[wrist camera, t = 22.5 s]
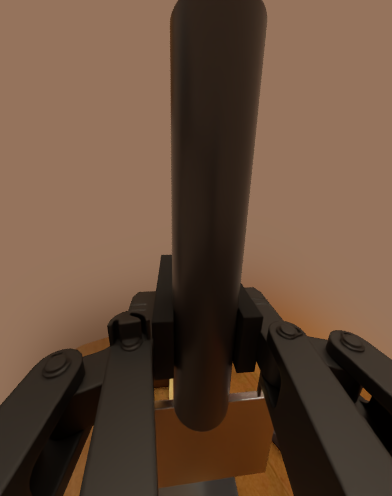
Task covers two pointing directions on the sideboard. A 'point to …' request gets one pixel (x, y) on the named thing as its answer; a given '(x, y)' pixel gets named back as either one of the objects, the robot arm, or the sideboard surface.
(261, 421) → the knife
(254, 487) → the sideboard surface
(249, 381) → the sideboard surface
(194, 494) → the slate board
